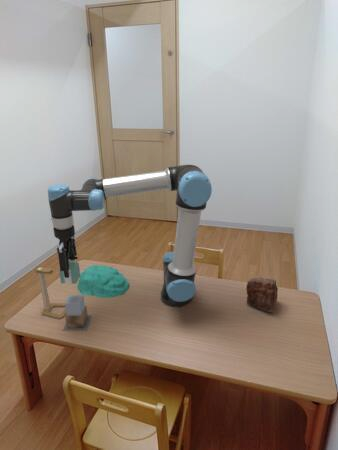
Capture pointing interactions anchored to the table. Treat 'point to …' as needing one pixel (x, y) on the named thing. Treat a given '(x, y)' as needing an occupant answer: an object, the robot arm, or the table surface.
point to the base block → (77, 320)
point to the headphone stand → (47, 304)
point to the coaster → (79, 328)
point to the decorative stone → (102, 282)
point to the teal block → (74, 273)
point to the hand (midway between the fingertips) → (71, 278)
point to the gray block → (74, 305)
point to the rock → (262, 293)
